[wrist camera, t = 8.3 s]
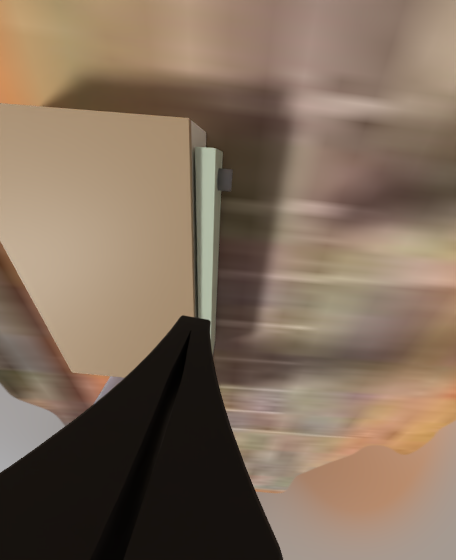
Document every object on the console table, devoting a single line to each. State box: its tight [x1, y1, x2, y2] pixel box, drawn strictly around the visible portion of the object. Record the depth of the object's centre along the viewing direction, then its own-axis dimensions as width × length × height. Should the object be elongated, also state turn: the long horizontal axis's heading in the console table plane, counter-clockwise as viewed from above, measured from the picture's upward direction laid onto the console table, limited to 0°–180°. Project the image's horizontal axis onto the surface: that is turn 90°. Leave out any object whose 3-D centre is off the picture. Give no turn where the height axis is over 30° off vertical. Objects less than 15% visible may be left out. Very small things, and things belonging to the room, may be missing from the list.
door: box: [195, 147, 233, 355], centre depth 16 cm, size 18×2×4 cm, turn 176°
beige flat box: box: [0, 103, 206, 378], centre depth 16 cm, size 20×12×5 cm, turn 176°
